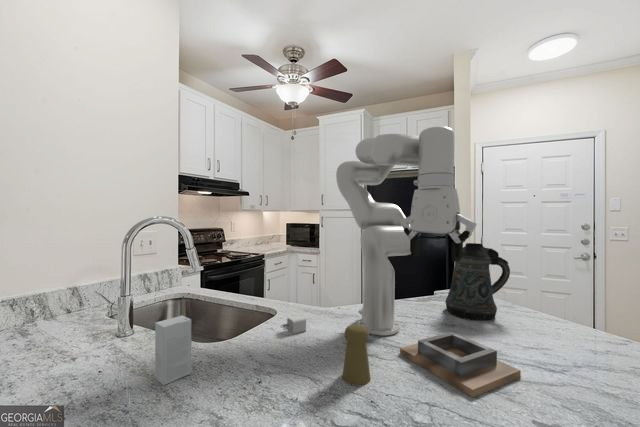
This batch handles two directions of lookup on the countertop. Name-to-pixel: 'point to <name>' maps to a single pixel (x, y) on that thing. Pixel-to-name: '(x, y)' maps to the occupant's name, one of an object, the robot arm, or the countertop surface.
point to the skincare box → (172, 349)
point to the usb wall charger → (295, 324)
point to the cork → (356, 355)
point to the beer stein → (475, 284)
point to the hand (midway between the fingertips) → (434, 258)
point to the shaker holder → (461, 363)
